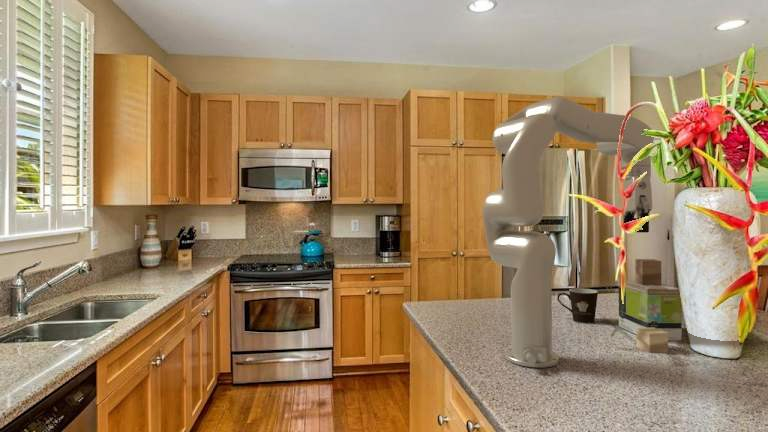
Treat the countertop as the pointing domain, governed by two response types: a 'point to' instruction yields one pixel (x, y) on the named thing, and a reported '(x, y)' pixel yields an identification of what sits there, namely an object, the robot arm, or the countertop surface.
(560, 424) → the countertop surface
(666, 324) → the tea box
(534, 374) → the countertop surface
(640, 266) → the walnut block
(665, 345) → the beech block
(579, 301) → the coffee mug
